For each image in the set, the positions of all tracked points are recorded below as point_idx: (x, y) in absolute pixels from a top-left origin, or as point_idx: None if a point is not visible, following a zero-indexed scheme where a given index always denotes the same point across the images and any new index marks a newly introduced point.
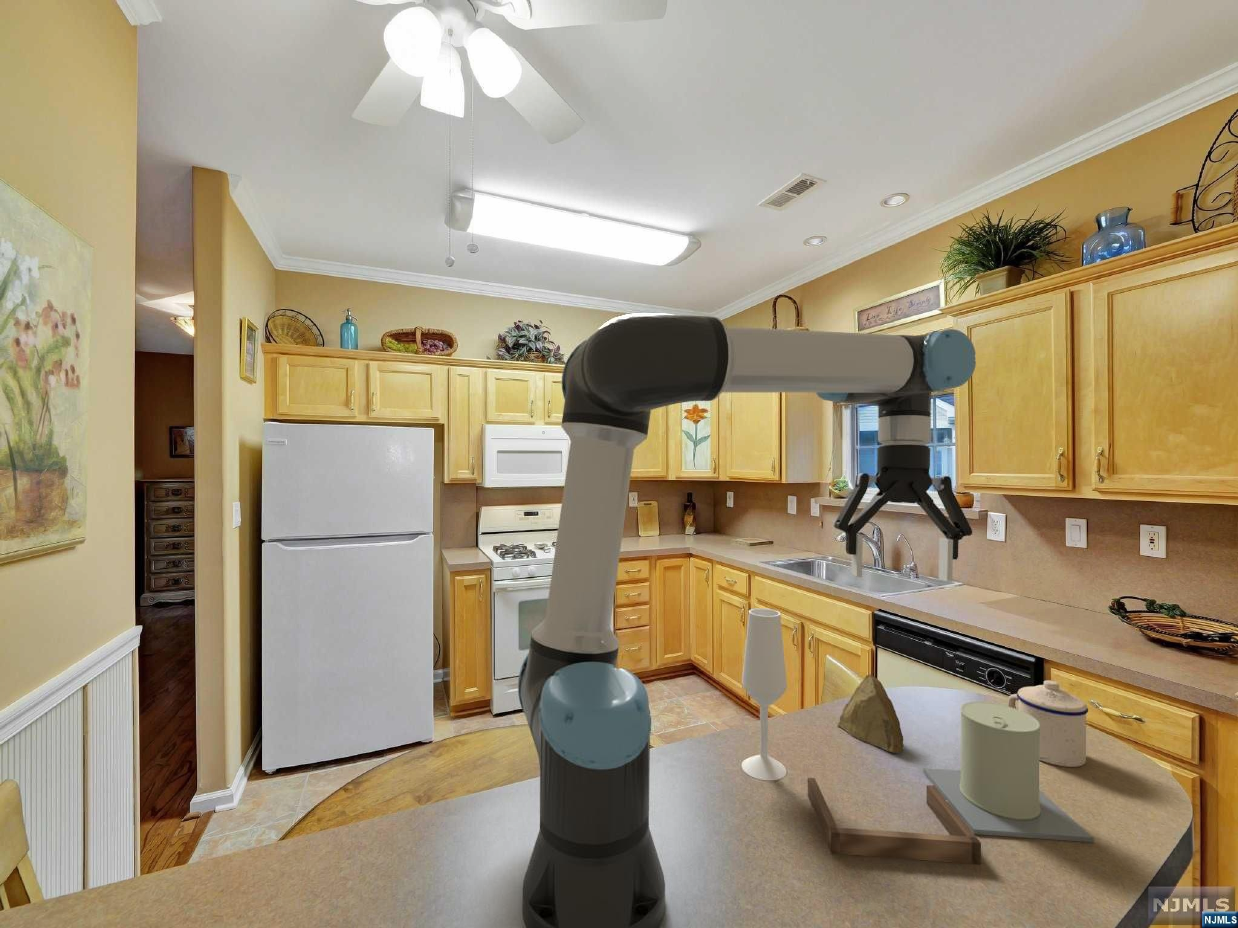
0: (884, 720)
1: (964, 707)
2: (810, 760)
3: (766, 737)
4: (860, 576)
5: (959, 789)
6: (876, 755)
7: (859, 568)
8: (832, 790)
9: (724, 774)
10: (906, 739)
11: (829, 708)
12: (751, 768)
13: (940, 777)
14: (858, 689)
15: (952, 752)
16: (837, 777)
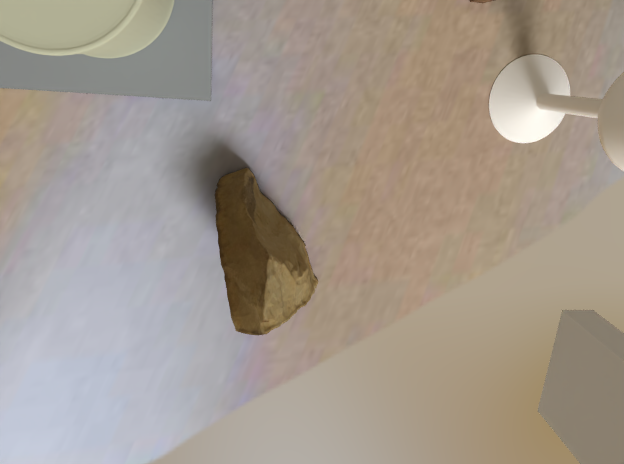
0: (252, 218)
1: (125, 8)
2: (428, 134)
3: (566, 97)
4: (572, 310)
5: (170, 16)
6: (283, 163)
7: (615, 341)
8: (428, 22)
9: (608, 72)
10: (185, 236)
11: (304, 360)
12: (562, 82)
13: (189, 64)
14: (285, 313)
15: (104, 187)
16: (399, 71)
